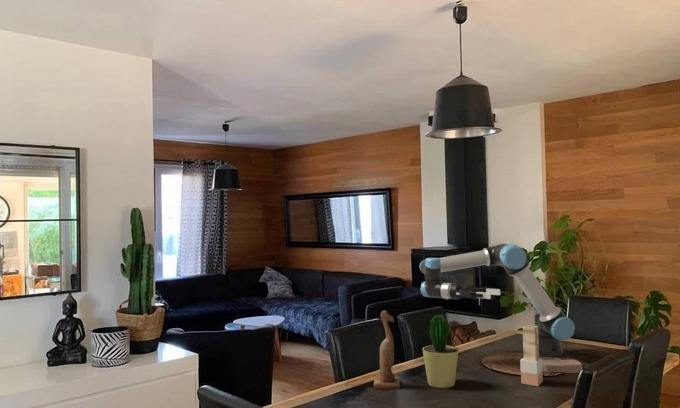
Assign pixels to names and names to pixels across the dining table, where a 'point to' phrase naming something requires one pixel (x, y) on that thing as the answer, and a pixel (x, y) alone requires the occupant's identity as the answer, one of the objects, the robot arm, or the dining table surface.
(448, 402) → the dining table surface
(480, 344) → the dining table surface
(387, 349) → the bird sculpture
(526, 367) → the tower top
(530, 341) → the oak pillar
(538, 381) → the tower base
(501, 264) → the robot arm
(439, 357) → the potted cactus
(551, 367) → the brick
